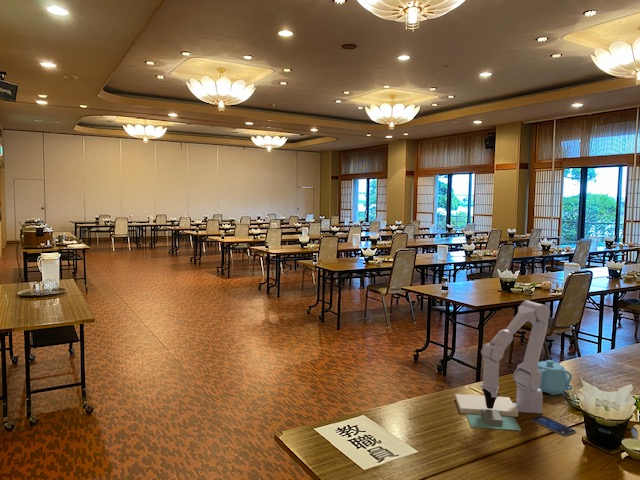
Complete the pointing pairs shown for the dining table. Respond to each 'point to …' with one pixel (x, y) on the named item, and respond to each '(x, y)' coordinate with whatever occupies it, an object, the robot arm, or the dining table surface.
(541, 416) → the smartphone
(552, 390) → the decorative pot
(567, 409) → the dining table surface
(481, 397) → the white flat board
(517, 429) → the mat
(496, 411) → the grey bevelled tile
